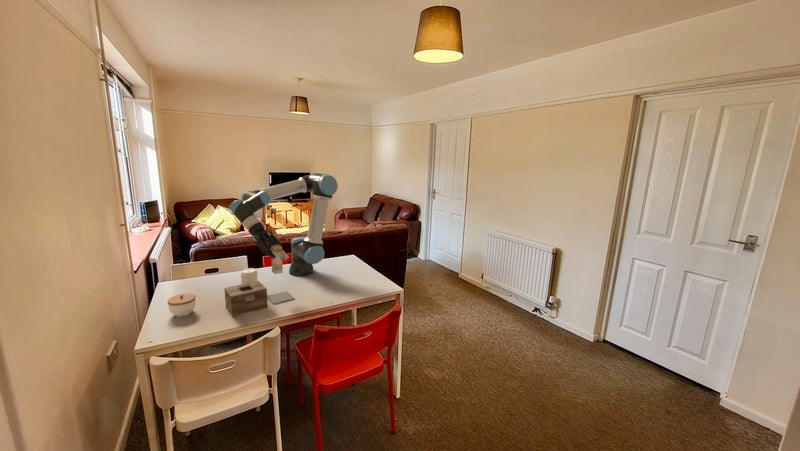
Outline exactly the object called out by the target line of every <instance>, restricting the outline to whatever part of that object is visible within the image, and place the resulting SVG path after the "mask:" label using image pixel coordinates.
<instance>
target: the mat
mask: <svg viewBox="0 0 800 451" xmlns="http://www.w3.org/2000/svg"><path fill="white" fill-rule="evenodd" d="M267 300H269V301H270V303H271V304H272V305H279V304H281V303H286V302H288V301H293V300H295V297H294V296H293V295H292V294H291V293H289V292H288V291H287V290H286V291H282V292H281V291H280V292H278V293H272V294H269V295H268V294H267Z"/></svg>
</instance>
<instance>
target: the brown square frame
mask: <svg viewBox="0 0 800 451" xmlns="http://www.w3.org/2000/svg"><path fill="white" fill-rule="evenodd" d="M223 289H224V301H225V308H226V310H227V311H228V313H229V314H230V316H231V317H237V316H241V315H244V314H248V313H253V312H256V311H259V310H264V309H267V308H268V298H267V296H268V294H267V293H268V288H266V287H265V285H264V284H262V283H261V282H260V280H258V281H256V282H252V283H247V284H242V285H241V284H239V285H238V284H237V285H233V286H227V287H224V288H223Z"/></svg>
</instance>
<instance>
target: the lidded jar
mask: <svg viewBox="0 0 800 451" xmlns="http://www.w3.org/2000/svg"><path fill="white" fill-rule="evenodd" d="M196 299H197V298H196V295H195V294H193V293H181V294H177V295H173V296H171V297H170V298H168V299H167V305H168V310H169V311H170V313H171V314H172V315H174V316H175V317H177V318H180V317H182V316H183V317H186V316H190V314H192V312H193V311H194V309H195V307H196V302H197V301H196Z"/></svg>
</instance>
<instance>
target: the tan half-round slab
mask: <svg viewBox="0 0 800 451" xmlns="http://www.w3.org/2000/svg"><path fill="white" fill-rule="evenodd" d="M256 281H259V279H258V271H257V269H256V268H254V267H250V268H244V269H242V270H241V271H240V282H241V284H240V285H242V284H247V283H252V282H256Z"/></svg>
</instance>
